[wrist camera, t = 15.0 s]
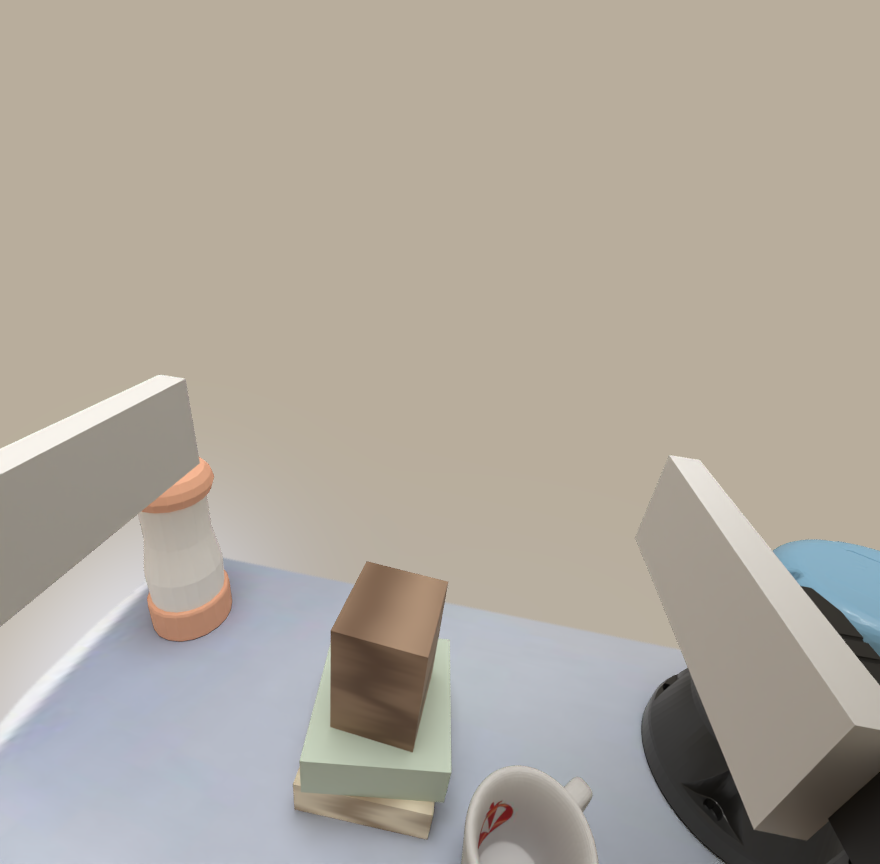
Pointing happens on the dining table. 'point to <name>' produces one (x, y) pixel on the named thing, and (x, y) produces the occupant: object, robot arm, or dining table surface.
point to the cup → (528, 820)
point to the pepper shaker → (184, 560)
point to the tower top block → (382, 748)
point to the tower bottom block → (369, 810)
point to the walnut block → (385, 654)
